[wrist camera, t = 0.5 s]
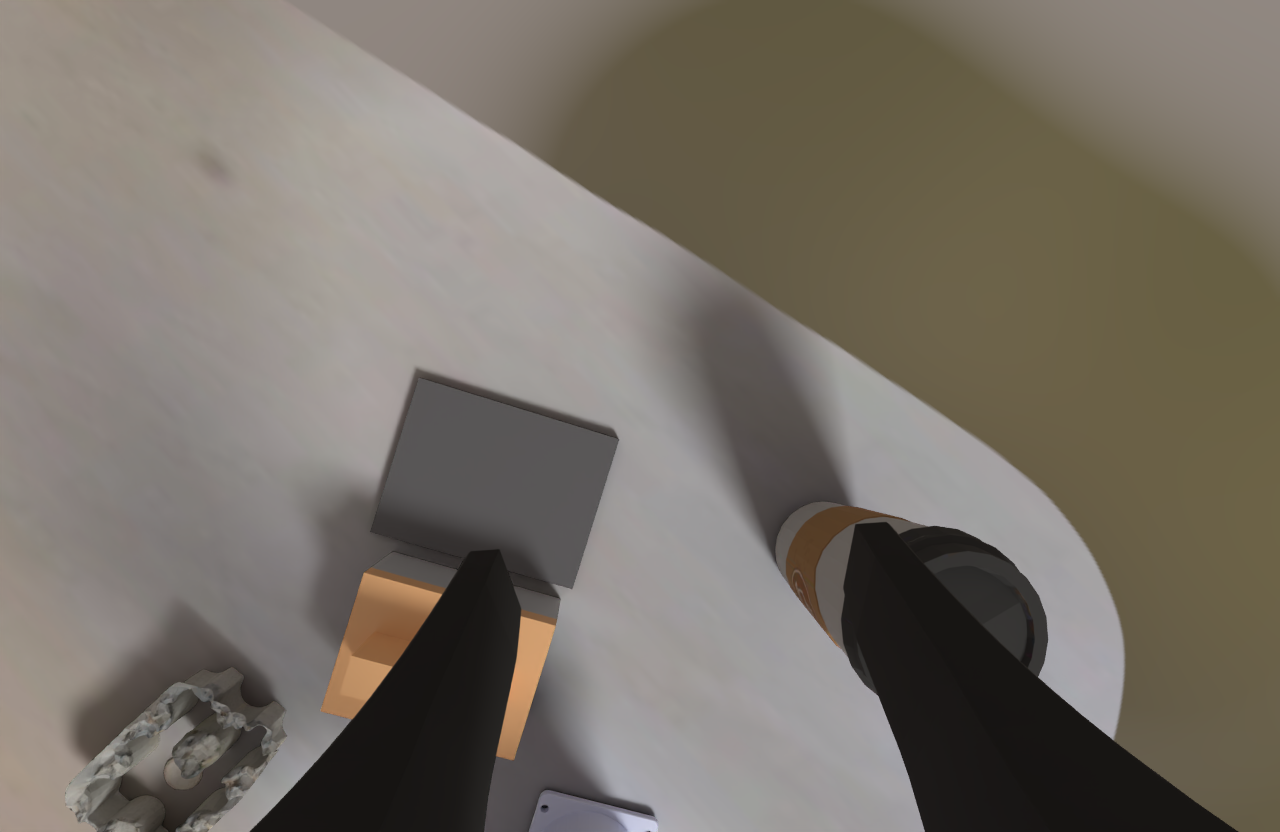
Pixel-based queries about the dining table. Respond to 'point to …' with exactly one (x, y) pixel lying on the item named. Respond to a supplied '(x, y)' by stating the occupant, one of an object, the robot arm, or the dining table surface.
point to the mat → (494, 482)
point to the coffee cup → (960, 561)
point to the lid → (389, 625)
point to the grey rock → (178, 757)
